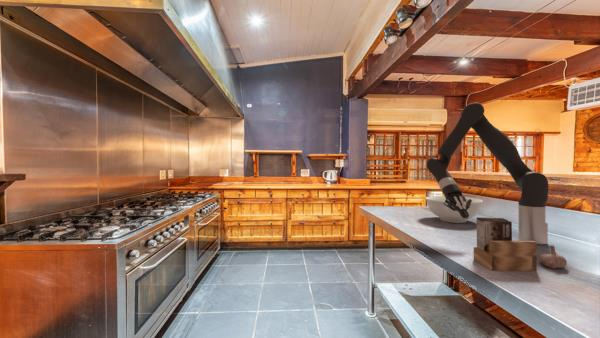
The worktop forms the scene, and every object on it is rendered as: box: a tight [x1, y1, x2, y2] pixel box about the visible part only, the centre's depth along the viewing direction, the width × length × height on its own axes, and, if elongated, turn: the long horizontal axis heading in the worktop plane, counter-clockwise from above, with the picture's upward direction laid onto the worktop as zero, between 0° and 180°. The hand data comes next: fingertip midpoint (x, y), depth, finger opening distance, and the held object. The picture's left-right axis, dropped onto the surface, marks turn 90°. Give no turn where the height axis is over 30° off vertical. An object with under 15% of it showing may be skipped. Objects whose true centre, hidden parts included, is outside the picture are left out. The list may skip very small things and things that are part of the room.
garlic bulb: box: [539, 244, 568, 270], centre depth 86 cm, size 8×7×8 cm
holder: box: [473, 240, 538, 272], centre depth 87 cm, size 15×9×10 cm, turn 88°
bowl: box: [425, 195, 484, 224], centre depth 159 cm, size 32×32×15 cm
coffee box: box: [476, 217, 513, 252], centre depth 91 cm, size 9×6×16 cm
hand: (466, 217), depth 108 cm, fingers closed
